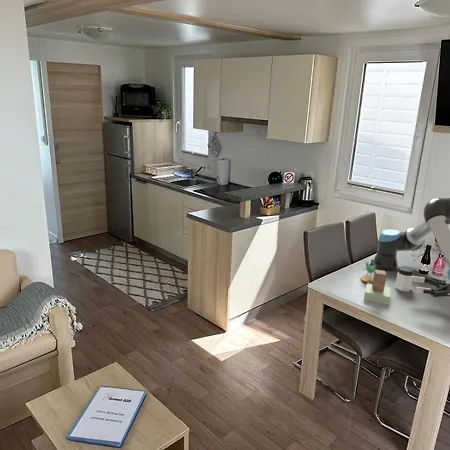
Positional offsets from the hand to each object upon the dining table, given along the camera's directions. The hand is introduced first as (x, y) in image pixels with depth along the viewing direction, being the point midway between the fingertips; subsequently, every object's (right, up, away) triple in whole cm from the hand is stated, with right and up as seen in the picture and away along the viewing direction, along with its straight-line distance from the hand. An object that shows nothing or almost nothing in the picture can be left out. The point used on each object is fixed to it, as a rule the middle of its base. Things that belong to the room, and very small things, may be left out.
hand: (413, 283), depth 210 cm
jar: (+4, -6, +22) cm, 23 cm away
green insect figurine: (-12, -3, +29) cm, 32 cm away
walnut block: (-15, -4, +8) cm, 18 cm away
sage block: (-15, -9, +9) cm, 20 cm away
